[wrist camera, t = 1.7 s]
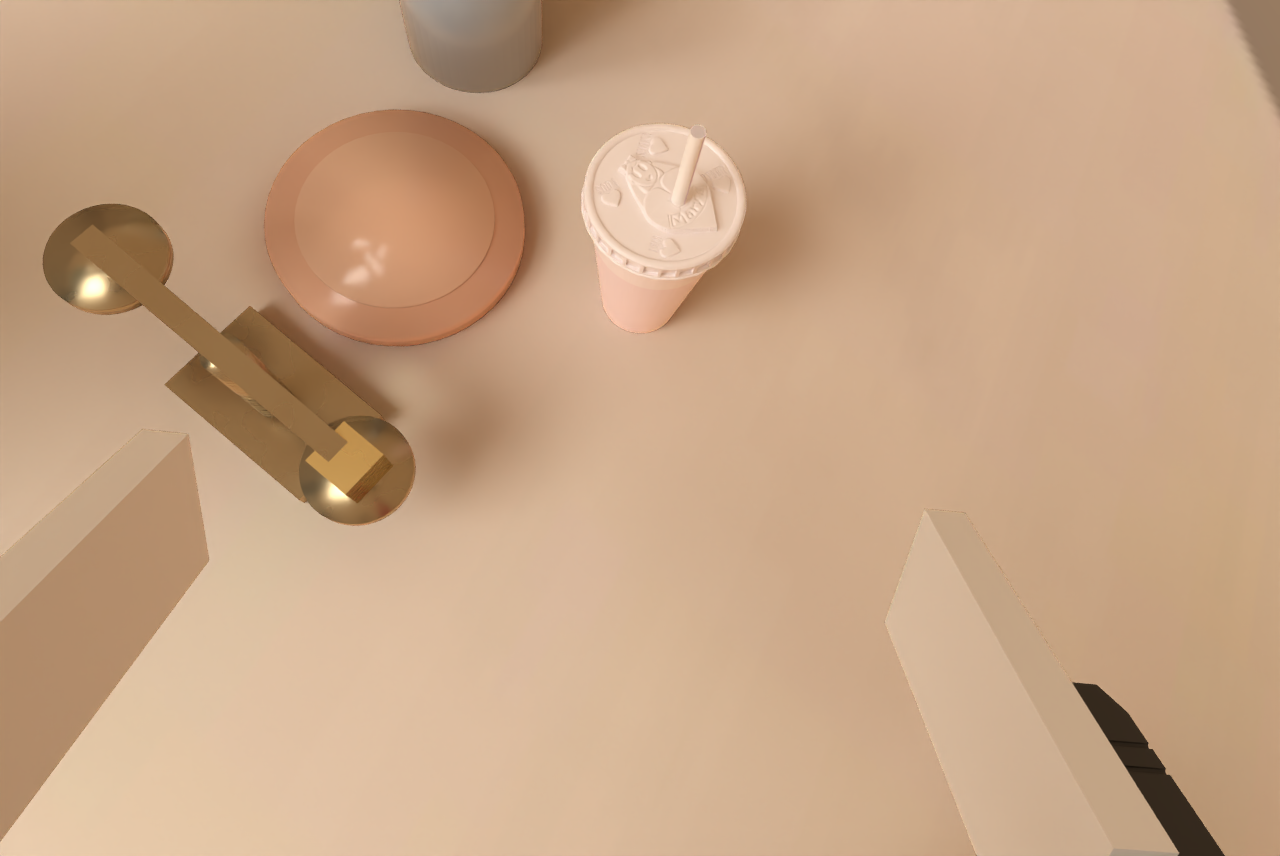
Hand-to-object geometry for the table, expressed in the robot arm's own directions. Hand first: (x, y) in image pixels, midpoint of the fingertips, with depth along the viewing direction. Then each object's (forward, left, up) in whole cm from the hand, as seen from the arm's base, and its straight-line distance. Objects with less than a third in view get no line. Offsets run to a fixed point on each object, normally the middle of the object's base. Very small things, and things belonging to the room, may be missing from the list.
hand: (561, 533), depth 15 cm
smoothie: (-6, +14, -22) cm, 27 cm away
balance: (-15, -1, -22) cm, 27 cm away
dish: (-17, +9, -22) cm, 29 cm away
